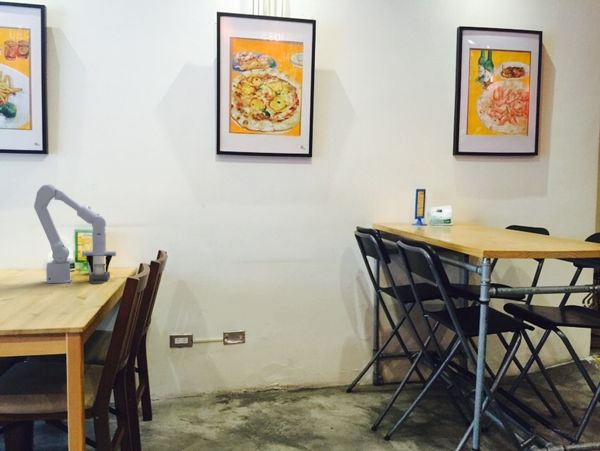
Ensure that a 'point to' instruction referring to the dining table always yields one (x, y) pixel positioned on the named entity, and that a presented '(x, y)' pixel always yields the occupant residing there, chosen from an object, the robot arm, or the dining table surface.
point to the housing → (99, 277)
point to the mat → (97, 282)
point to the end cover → (99, 268)
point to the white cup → (96, 261)
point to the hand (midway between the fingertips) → (99, 271)
